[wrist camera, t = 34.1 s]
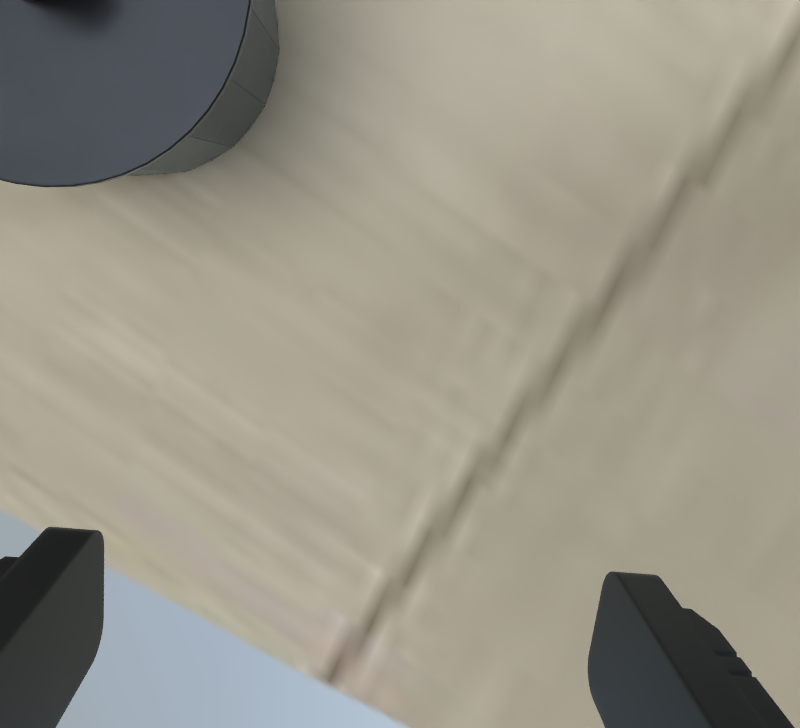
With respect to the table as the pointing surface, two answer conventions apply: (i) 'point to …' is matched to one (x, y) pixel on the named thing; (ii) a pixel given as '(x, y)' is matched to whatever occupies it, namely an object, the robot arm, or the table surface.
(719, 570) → the table surface
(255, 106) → the pot
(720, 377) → the table surface
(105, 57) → the lid
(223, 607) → the table surface
